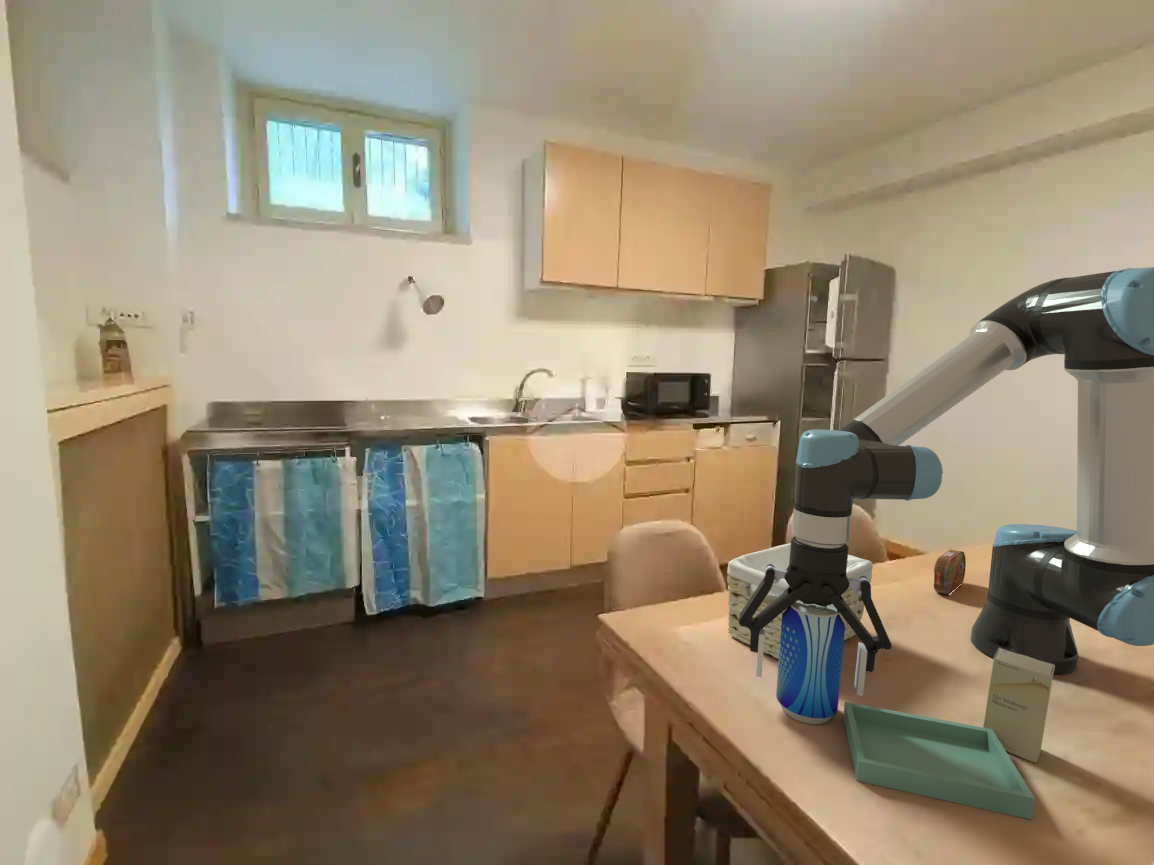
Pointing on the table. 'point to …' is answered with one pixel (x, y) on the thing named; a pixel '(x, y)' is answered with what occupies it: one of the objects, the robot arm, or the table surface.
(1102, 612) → the robot arm
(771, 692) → the table surface
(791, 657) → the beer can
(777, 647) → the storage basket
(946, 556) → the tin
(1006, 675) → the skincare box
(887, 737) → the tray
